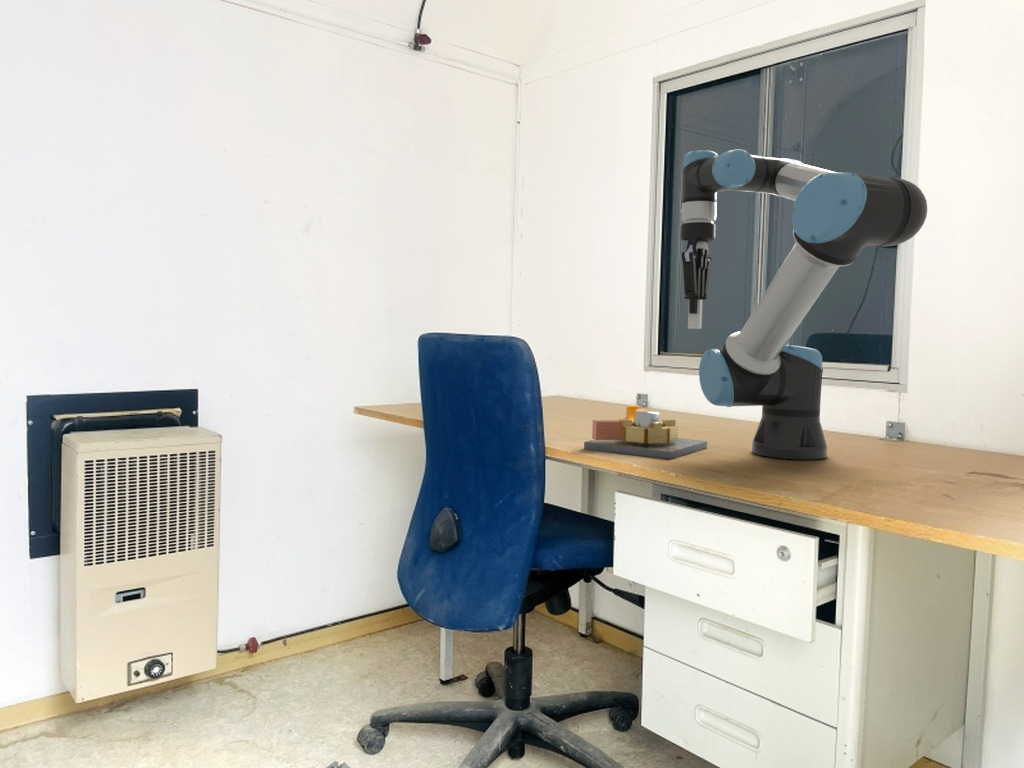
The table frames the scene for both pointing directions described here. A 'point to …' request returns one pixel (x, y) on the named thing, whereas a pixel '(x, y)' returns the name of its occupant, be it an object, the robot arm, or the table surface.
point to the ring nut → (635, 431)
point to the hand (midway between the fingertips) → (694, 328)
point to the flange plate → (648, 449)
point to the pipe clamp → (631, 412)
